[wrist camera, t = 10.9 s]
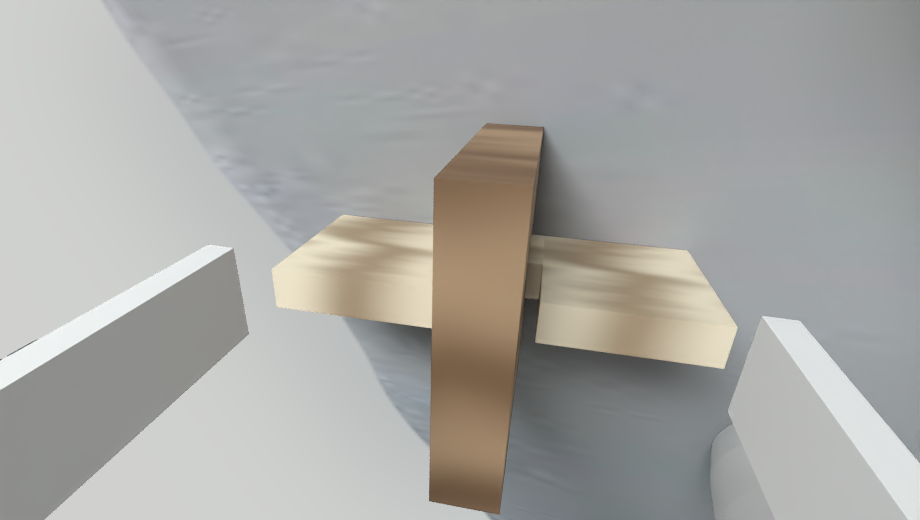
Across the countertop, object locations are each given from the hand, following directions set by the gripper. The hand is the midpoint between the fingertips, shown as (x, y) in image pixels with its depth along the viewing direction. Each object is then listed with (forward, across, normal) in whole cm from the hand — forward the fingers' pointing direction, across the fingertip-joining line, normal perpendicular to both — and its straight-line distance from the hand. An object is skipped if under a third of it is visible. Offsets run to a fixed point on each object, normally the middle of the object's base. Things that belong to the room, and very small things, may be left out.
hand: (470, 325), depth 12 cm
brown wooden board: (+16, -1, -4) cm, 16 cm away
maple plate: (+16, -1, -4) cm, 16 cm away
